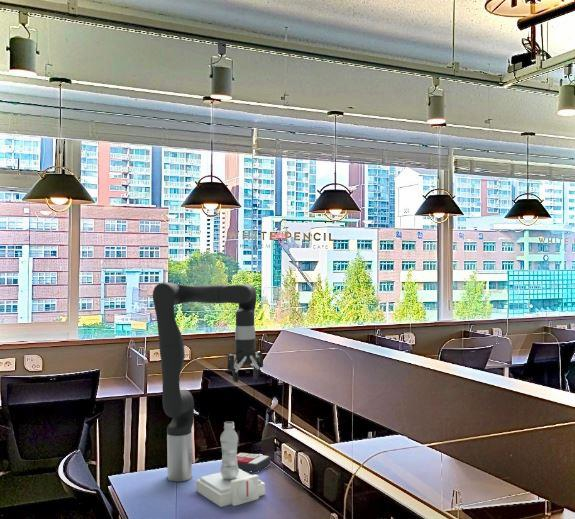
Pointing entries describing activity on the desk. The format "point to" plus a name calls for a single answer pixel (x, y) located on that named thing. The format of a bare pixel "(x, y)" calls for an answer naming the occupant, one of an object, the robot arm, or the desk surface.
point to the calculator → (252, 462)
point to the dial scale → (231, 488)
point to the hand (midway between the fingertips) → (245, 380)
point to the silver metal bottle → (229, 452)
